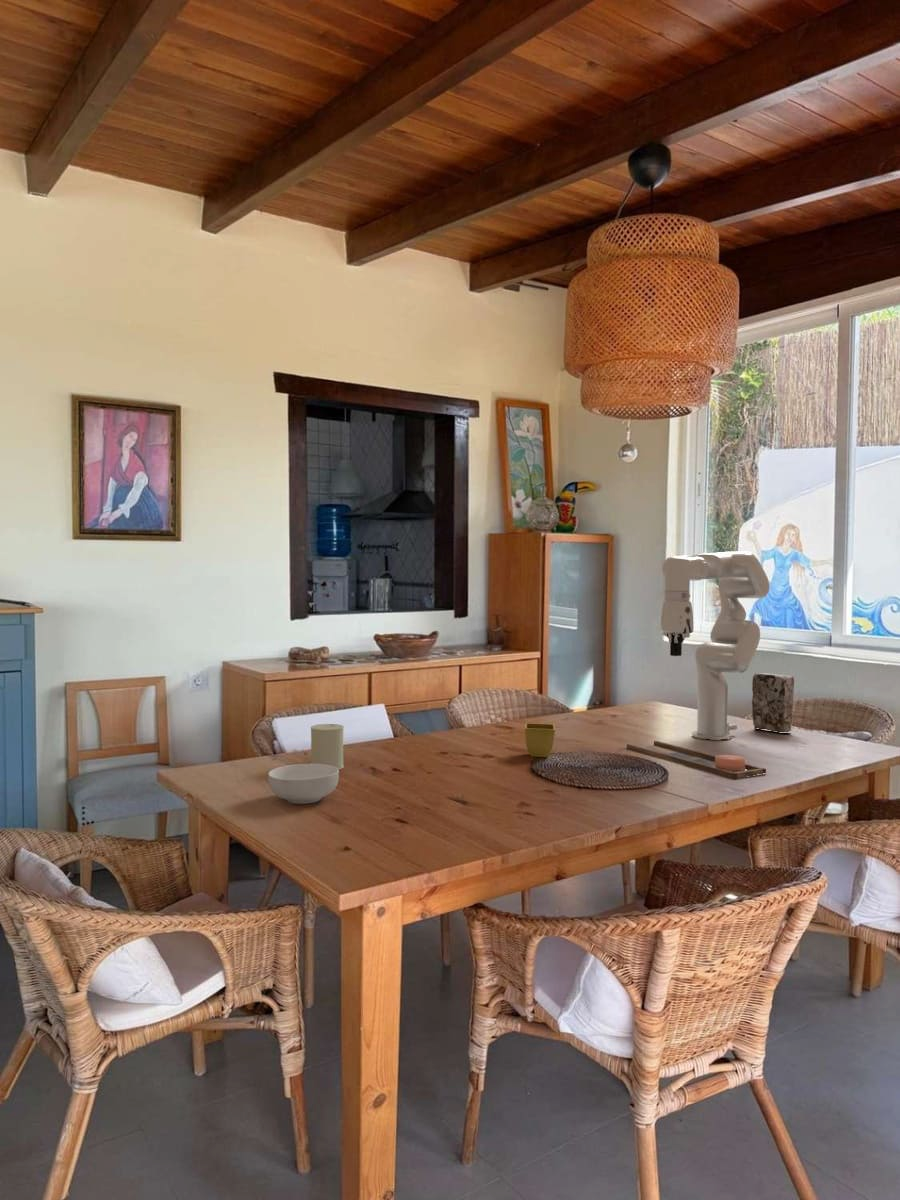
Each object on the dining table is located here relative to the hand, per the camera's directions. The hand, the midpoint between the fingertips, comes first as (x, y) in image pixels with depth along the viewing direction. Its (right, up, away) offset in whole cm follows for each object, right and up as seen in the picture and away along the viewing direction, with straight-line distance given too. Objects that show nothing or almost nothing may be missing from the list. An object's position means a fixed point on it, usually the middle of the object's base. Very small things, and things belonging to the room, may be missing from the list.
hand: (675, 655), depth 276 cm
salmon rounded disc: (+8, -30, -30) cm, 43 cm away
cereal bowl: (-106, -31, -62) cm, 127 cm away
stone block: (+41, -29, +30) cm, 58 cm away
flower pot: (-44, -30, -11) cm, 54 cm away
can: (-105, -30, -29) cm, 113 cm away
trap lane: (0, -30, -17) cm, 34 cm away
